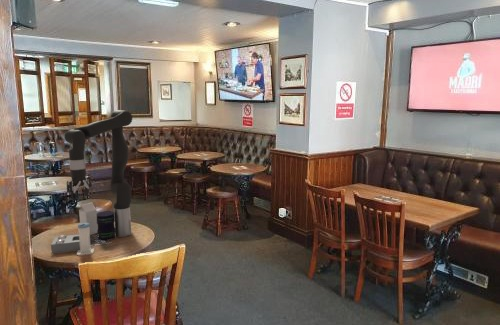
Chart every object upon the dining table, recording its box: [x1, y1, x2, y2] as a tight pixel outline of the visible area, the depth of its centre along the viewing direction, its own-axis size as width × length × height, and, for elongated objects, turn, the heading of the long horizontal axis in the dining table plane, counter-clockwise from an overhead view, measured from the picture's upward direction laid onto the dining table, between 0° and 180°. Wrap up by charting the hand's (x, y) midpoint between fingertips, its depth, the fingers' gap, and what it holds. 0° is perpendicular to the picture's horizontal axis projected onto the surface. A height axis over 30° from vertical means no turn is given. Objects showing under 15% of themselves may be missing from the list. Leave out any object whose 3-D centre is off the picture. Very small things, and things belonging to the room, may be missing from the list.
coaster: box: [76, 248, 95, 256], centre depth 194 cm, size 8×6×1 cm
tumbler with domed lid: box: [77, 223, 92, 253], centre depth 192 cm, size 6×6×16 cm
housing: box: [50, 234, 92, 254], centre depth 200 cm, size 18×12×5 cm, turn 109°
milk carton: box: [78, 201, 98, 236], centre depth 221 cm, size 7×7×19 cm
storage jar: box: [96, 210, 116, 242], centre depth 214 cm, size 10×10×15 cm
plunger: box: [58, 234, 66, 239], centre depth 202 cm, size 3×3×6 cm
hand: (80, 197), depth 193 cm, fingers open, 8 cm apart
